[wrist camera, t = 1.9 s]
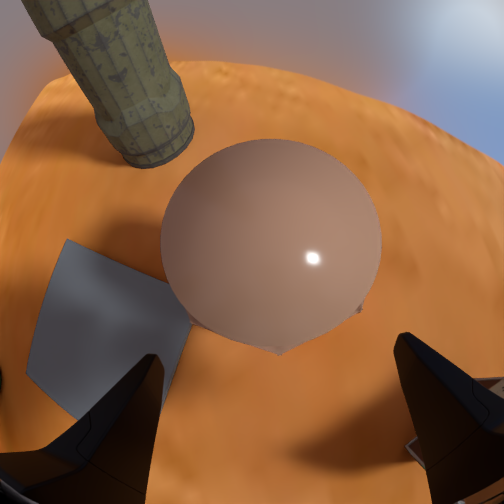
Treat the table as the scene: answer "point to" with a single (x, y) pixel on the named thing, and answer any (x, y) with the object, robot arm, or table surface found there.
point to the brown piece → (270, 243)
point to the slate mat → (101, 328)
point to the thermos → (121, 74)
